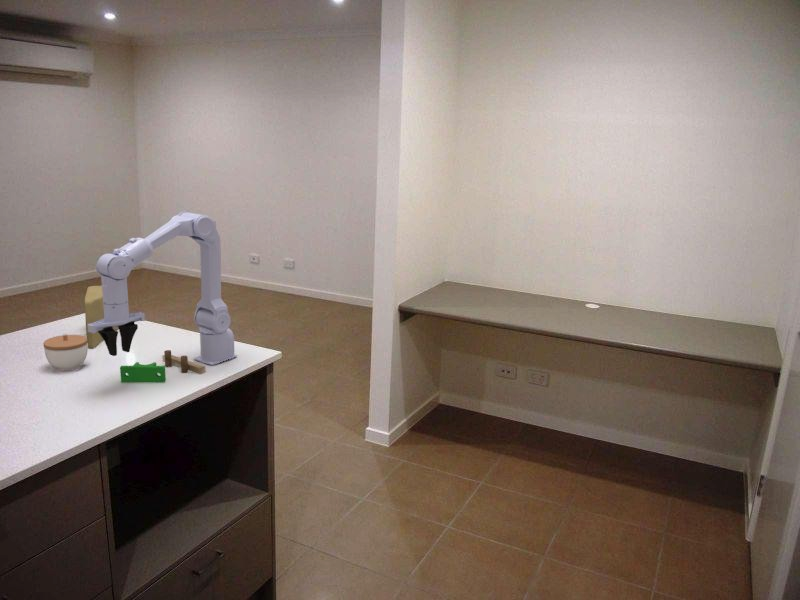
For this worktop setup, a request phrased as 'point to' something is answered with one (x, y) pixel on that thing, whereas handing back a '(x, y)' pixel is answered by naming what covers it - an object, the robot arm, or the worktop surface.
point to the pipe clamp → (143, 373)
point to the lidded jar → (66, 351)
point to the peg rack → (182, 363)
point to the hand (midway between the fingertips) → (119, 353)
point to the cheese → (94, 313)
